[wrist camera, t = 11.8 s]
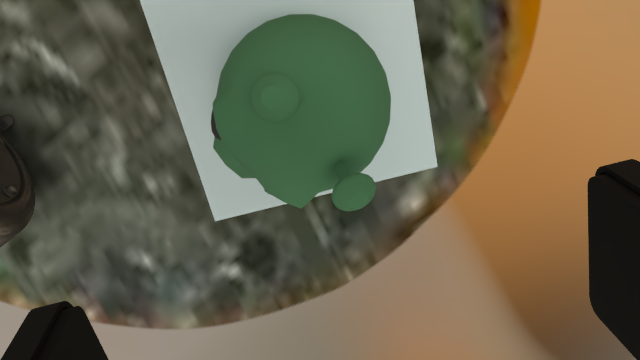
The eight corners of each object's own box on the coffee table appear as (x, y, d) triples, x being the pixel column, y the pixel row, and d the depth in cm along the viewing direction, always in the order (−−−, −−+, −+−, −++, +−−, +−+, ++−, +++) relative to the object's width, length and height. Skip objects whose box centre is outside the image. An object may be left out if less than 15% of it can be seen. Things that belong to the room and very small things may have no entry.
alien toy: (180, 78, 26) (136, 151, 17) (309, -30, 25) (338, -15, 15) (275, 183, 28) (283, 296, 19) (397, 90, 27) (466, 164, 18)
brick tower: (128, -54, 33) (71, -53, 23) (385, -117, 33) (439, -143, 23) (207, 181, 40) (189, 262, 30) (423, 128, 40) (478, 191, 30)
